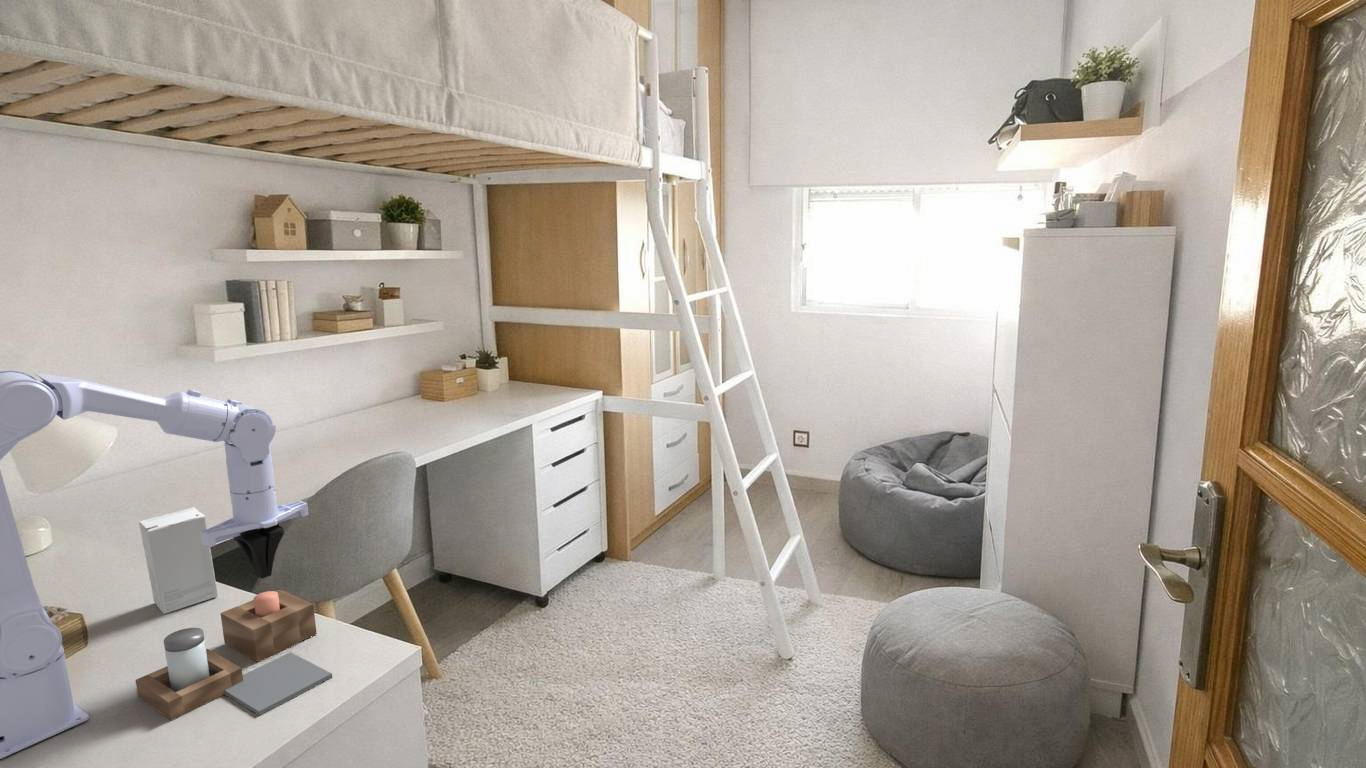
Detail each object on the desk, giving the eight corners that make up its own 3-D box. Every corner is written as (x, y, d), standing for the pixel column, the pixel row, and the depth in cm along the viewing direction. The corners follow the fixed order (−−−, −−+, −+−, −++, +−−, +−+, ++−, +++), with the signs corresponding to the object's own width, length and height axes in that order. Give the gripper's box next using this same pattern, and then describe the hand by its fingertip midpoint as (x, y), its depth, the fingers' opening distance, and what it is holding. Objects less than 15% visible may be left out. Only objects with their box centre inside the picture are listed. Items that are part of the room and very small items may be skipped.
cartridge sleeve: (171, 720, 96) (168, 702, 96) (138, 696, 101) (135, 679, 101) (243, 684, 104) (241, 668, 103) (210, 664, 108) (207, 648, 108)
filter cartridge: (181, 704, 99) (173, 648, 98) (165, 693, 102) (157, 638, 100) (217, 688, 103) (209, 633, 101) (200, 677, 105) (193, 624, 104)
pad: (259, 715, 97) (258, 711, 97) (218, 690, 102) (218, 686, 102) (332, 677, 105) (331, 673, 105) (291, 655, 111) (290, 652, 110)
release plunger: (264, 634, 113) (261, 603, 112) (253, 628, 114) (249, 597, 113) (286, 625, 115) (282, 594, 114) (274, 619, 117) (270, 589, 116)
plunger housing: (257, 662, 109) (253, 629, 108) (224, 644, 114) (220, 613, 113) (316, 634, 116) (313, 604, 115) (283, 618, 121) (280, 589, 120)
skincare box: (208, 587, 132) (196, 505, 129) (219, 598, 128) (208, 514, 125) (150, 604, 126) (137, 519, 123) (160, 616, 122) (147, 528, 119)
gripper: (214, 508, 102) (226, 602, 105) (316, 478, 114) (325, 563, 117) (188, 498, 106) (200, 589, 109) (289, 470, 118) (298, 553, 121)
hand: (263, 575), depth 113 cm, fingers closed
